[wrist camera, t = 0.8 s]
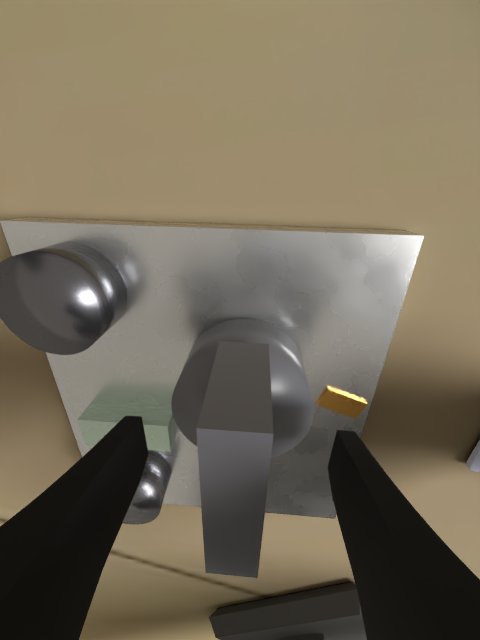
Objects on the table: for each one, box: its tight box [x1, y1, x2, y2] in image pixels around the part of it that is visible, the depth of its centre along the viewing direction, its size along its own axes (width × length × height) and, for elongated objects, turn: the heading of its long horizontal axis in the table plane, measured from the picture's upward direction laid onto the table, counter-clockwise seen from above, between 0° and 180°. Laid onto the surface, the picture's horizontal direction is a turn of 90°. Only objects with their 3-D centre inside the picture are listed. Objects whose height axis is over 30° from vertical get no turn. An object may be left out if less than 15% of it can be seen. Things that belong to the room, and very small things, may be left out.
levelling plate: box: [0, 217, 424, 524], centre depth 15 cm, size 18×20×4 cm
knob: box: [171, 319, 314, 578], centre depth 12 cm, size 6×12×7 cm, turn 179°
